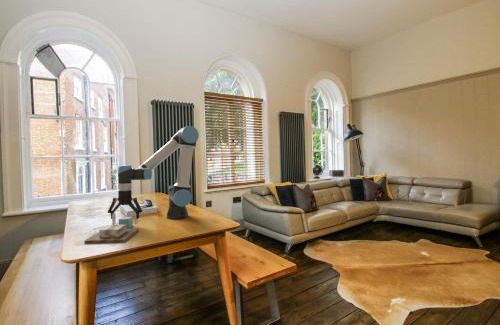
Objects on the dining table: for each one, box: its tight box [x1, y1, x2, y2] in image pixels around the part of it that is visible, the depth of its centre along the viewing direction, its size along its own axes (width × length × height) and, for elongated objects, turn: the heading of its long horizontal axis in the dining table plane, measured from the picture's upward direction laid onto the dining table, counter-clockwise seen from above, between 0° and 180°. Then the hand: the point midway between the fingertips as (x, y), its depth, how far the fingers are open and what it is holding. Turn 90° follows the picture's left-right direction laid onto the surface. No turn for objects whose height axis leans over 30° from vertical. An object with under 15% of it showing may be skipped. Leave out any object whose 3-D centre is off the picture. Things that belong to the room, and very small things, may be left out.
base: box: [83, 224, 140, 245], centre depth 146 cm, size 20×20×6 cm
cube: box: [118, 216, 134, 229], centre depth 165 cm, size 6×6×6 cm
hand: (125, 224), depth 165 cm, fingers open, 13 cm apart
